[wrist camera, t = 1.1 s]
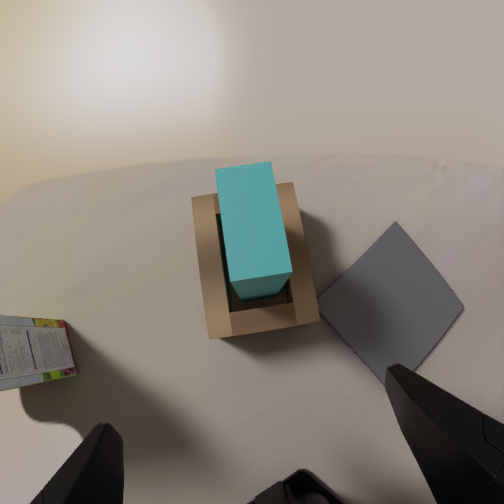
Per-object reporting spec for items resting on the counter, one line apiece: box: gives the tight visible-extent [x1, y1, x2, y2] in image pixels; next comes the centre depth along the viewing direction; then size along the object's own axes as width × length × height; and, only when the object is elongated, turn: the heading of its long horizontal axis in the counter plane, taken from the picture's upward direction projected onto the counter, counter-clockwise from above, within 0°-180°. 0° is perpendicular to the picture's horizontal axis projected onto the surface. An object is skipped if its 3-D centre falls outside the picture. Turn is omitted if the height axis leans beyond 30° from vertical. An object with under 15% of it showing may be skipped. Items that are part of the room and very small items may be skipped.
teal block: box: [215, 161, 293, 302], centre depth 18 cm, size 5×2×11 cm, turn 9°
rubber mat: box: [317, 222, 464, 386], centre depth 23 cm, size 10×10×1 cm
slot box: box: [191, 182, 321, 339], centre depth 22 cm, size 10×7×4 cm
